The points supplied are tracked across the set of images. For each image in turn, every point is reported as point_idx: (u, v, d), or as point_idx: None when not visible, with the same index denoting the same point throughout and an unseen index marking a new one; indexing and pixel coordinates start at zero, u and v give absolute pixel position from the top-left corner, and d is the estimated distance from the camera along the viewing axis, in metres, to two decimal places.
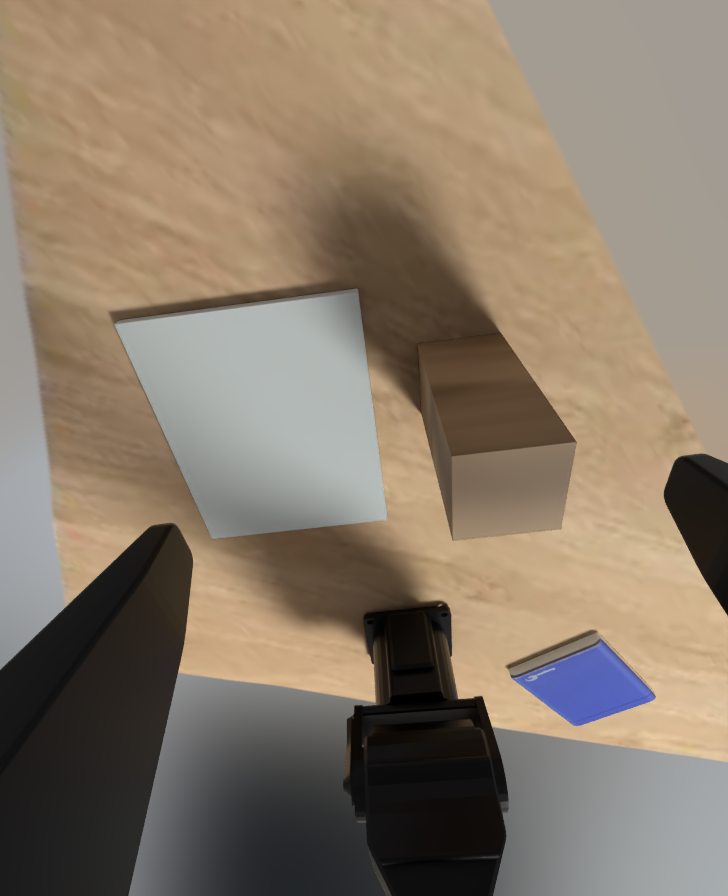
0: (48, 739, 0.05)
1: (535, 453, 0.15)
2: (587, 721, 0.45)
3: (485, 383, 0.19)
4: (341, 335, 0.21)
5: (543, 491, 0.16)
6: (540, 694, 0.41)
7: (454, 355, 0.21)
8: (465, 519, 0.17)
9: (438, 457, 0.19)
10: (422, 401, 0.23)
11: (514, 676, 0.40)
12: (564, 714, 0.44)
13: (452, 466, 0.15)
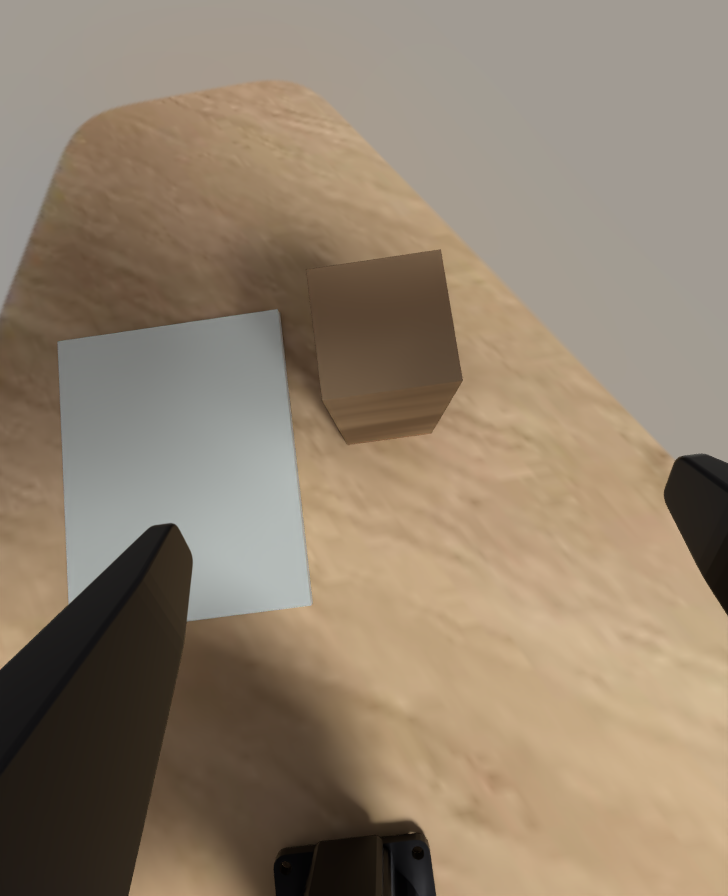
0: (48, 739, 0.05)
1: (399, 264, 0.14)
2: None
3: None
4: (260, 348, 0.22)
5: (422, 317, 0.13)
6: None
7: None
8: (333, 362, 0.13)
9: None
10: None
11: None
12: None
13: (308, 283, 0.14)
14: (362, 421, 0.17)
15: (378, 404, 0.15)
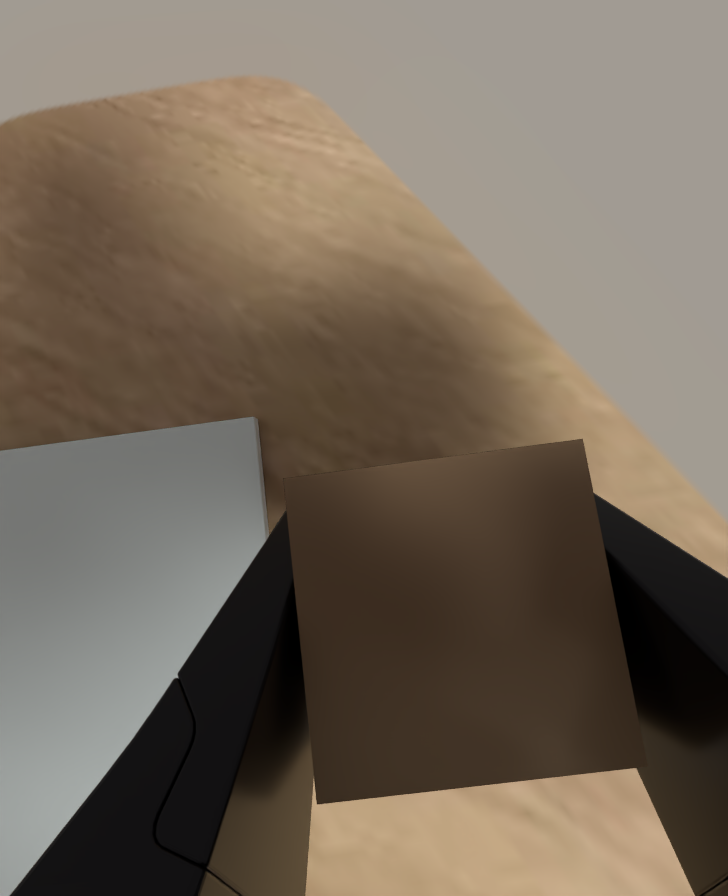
0: (266, 713, 0.05)
1: (489, 473, 0.06)
2: None
3: None
4: (227, 477, 0.15)
5: (547, 602, 0.06)
6: None
7: None
8: (343, 706, 0.06)
9: None
10: None
11: None
12: None
13: (288, 510, 0.06)
14: None
15: None
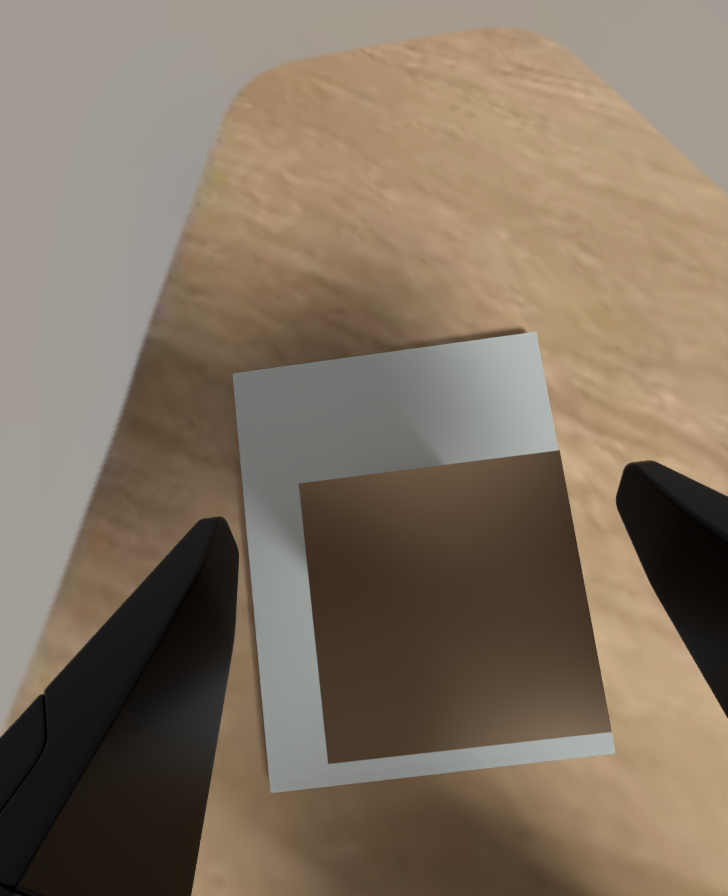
0: (126, 730, 0.05)
1: (478, 479, 0.07)
2: None
3: None
4: (516, 386, 0.16)
5: (527, 591, 0.07)
6: None
7: None
8: (350, 680, 0.07)
9: None
10: None
11: None
12: None
13: (303, 511, 0.07)
14: None
15: None
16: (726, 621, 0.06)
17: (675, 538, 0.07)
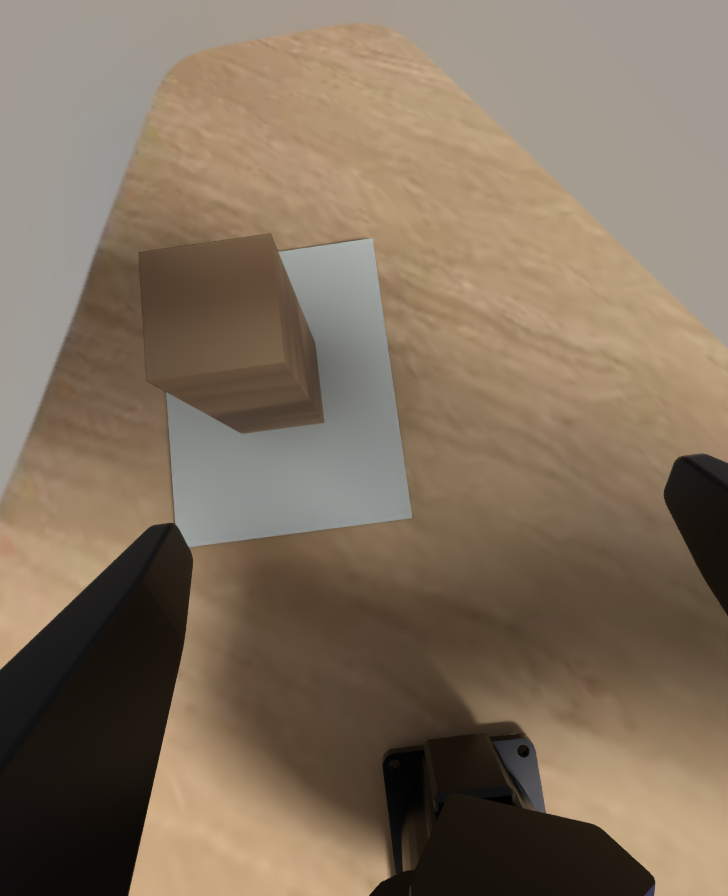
0: (48, 739, 0.05)
1: (229, 248, 0.14)
2: None
3: None
4: (356, 275, 0.23)
5: (249, 300, 0.14)
6: None
7: None
8: (159, 343, 0.13)
9: None
10: None
11: None
12: None
13: (140, 265, 0.14)
14: (225, 406, 0.17)
15: (219, 387, 0.15)
16: None
17: None
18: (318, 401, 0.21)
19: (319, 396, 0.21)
